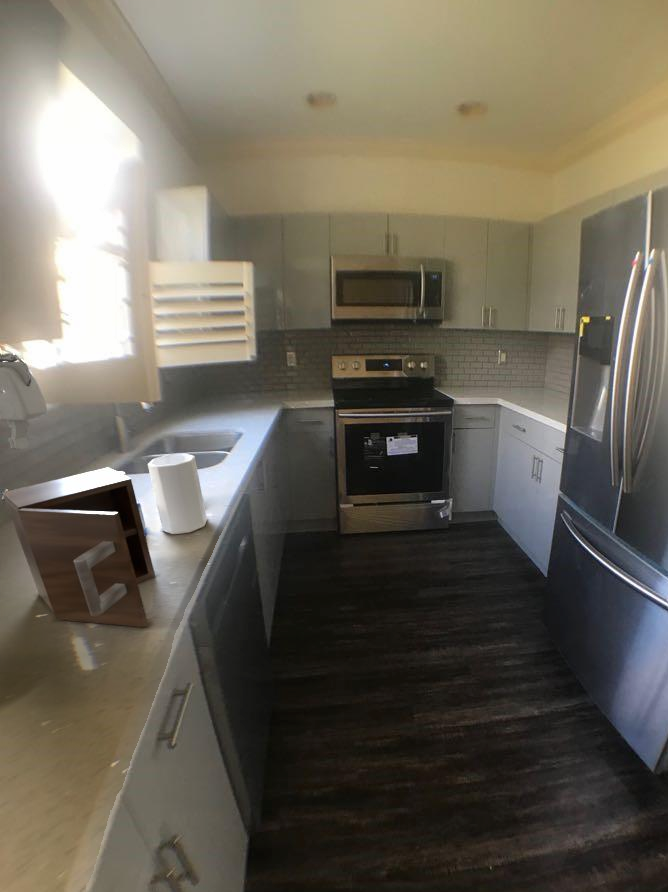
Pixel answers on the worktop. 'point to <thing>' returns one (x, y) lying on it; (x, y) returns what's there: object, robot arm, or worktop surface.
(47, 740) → the worktop surface
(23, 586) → the worktop surface
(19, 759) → the worktop surface
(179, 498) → the cup
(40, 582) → the cupboard
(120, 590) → the cupboard door
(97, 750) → the worktop surface
